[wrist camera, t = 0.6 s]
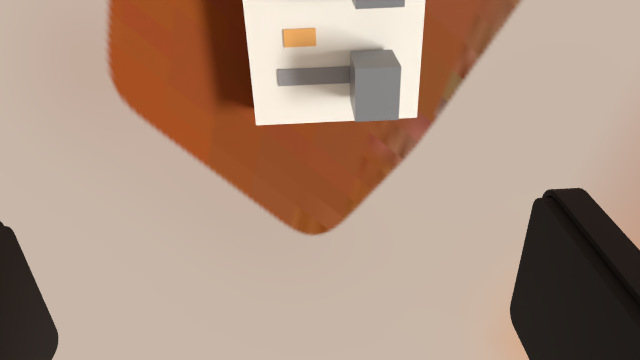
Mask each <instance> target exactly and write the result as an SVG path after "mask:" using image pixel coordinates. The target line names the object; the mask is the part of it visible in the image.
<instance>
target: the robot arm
mask: <svg viewBox="0 0 640 360" xmlns="http://www.w3.org/2000/svg"><path fill="white" fill-rule="evenodd" d="M510 315H511V320H512V324H513V326H514V328H515V330H516V332H517V335H518V337H519V339H520V341H521V343H522V345H523V347H524V349H525V351H526V353H527V355H528V357H529V360H640V250H639V249H638V248H637V247H636V246H635V245H634V244H633V243H632V241H631V240H630V239H629V238H628V237H627V236H626V235H625V234H624V233H623V232H622V231H621V229H620V228H619V227H618V226H617V225H616V224H615V223H614V222H613V221H612V219H611V218H610V217H609V216H608V215H607V214H606V213H605V212H604V211H603V210H602V208H601V207H600V206H599V205H598V204H597V203H596V202H595V201H594V200H593V199H592V198H591V196H590V195H589V194H588V193H587V192H586V191H585V190H583V189H581V188H571V189H551V190H547V191H546V192H545V193H544V194H543V197H542V198H537V199H536V200H535V201H534V203H533V206H532V211H531V215H530V220H529V224H528V229H527V233H526V238H525V242H524V247H523V251H522V255H521V260H520V264H519V269H518V273H517V278H516V282H515V287H514V292H513V296H512V300H511V306H510ZM57 345H58V332H57V329H56V327H55V325H54V322H53V320H52V318H51V315H50V313H49V311H48V309H47V306H46V304H45V302H44V300H43V298H42V295H41V293H40V291H39V288H38V286H37V284H36V282H35V279H34V277H33V275H32V273H31V270H30V268H29V266H28V263H27V261H26V259H25V257H24V254H23V252H22V250H21V247H20V245H19V243H18V241H17V238H16V236H15V234H14V232H13V230H12V229H11V228H10V227H7V226H4V225H3V223H2V222H0V360H52V358H53V356H54V354H55V352H56V349H57Z"/></svg>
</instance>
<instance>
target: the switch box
mask: <svg viewBox="0 0 640 360" xmlns="http://www.w3.org/2000/svg"><path fill="white" fill-rule="evenodd" d="M243 8H244V17H245V27H246V36H247V45H248V54H249V63H250V73H251V82H252V91H253V100H254V109H255V119H256V125H271V124H292V123H313V122H334V121H355V119H354V115H353V111H352V107H351V102H350V51H369V50H393V52H394V54H395V56H396V58H397V60H398V61H399V63H400V65H401V84H400V103H399V118H417V107H418V93H419V80H420V66H421V52H422V38H423V25H424V11H425V0H405V7H394V8H372V9H355V7H354V5H353V2H352V0H243Z"/></svg>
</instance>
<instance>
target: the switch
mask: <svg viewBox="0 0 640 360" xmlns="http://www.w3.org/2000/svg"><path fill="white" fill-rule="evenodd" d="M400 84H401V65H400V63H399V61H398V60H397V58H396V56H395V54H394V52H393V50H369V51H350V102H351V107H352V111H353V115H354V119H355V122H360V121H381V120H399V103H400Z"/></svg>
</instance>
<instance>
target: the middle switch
mask: <svg viewBox="0 0 640 360" xmlns="http://www.w3.org/2000/svg"><path fill="white" fill-rule="evenodd" d="M352 2H353V5H354V7H355V9H372V8H394V7H405V0H352Z"/></svg>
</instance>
